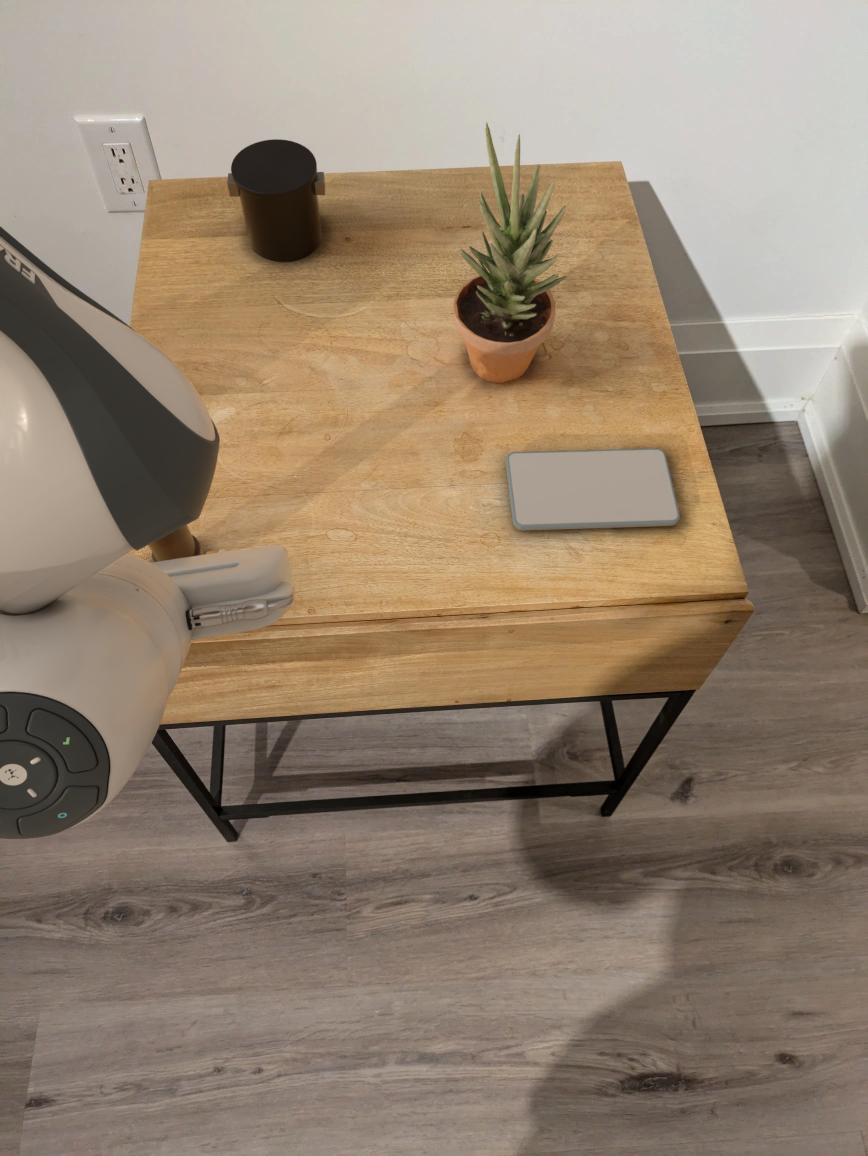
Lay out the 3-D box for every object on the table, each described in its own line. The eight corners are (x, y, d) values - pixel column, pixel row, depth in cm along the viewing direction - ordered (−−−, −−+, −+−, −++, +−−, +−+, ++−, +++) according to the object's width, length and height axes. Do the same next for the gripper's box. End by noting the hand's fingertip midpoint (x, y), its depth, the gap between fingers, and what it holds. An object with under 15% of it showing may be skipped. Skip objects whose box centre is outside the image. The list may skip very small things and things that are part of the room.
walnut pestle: (158, 590, 72) (122, 527, 63) (163, 549, 74) (129, 483, 65) (206, 588, 72) (176, 525, 63) (210, 548, 74) (181, 481, 65)
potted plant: (440, 335, 86) (447, 98, 65) (528, 318, 87) (564, 81, 66) (467, 409, 82) (485, 181, 60) (560, 390, 83) (610, 160, 61)
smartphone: (682, 522, 75) (514, 527, 74) (679, 528, 75) (512, 533, 75) (664, 446, 79) (504, 450, 78) (662, 453, 79) (503, 457, 79)
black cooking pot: (238, 265, 91) (221, 194, 83) (243, 211, 95) (228, 139, 87) (329, 263, 91) (321, 192, 83) (330, 210, 95) (323, 138, 88)
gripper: (284, 553, 47) (290, 506, 60) (-97, 610, 45) (-5, 549, 58) (302, 657, 49) (304, 590, 62) (-64, 716, 47) (18, 634, 60)
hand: (152, 570), depth 60 cm, fingers open, 8 cm apart
